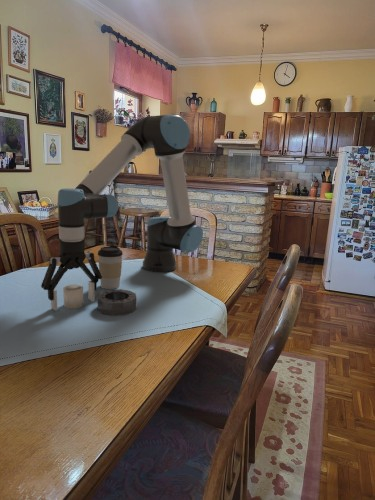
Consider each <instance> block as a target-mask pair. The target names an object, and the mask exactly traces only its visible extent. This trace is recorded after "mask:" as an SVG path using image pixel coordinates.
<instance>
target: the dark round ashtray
mask: <svg viewBox="0 0 375 500" xmlns="http://www.w3.org/2000/svg"><path fill="white" fill-rule="evenodd" d="M135 310H137V293H136V292H133V291H131V290H129V289H122V288H121V289H120V288H119V289H118V288H115V289H107V290H103V291H102V292H100V293H98V294H97V311H98V312H100V313H101V314H102V315H109V316H125V315H128V314H132V313H133V312H134V311H135Z"/></svg>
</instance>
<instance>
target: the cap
mask: <svg viewBox="0 0 375 500" xmlns="http://www.w3.org/2000/svg"><path fill="white" fill-rule="evenodd" d="M62 289H63V307H64V308H65V309H69V310H73V309H74V310H75V309H80V308H81V307H83V306H84V286H83V285H80V284H68V285H65V286H63V288H62ZM79 307H80V308H79Z"/></svg>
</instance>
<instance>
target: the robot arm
mask: <svg viewBox="0 0 375 500" xmlns="http://www.w3.org/2000/svg"><path fill="white" fill-rule="evenodd" d="M190 138H191V132H190V127H189V124H188V123H187V121H186V120H185V119H184V118H183V117H182V116H180V115H177V114H169V113H168V114H162V115H150V116H149V115H148V116H145V117H142V118H141V119H139V120H137V121H136V122H135V123H133V124H132V125H131V126H130V127H129V128H128V129H127V130H126V131H125V132H124V133H123V134H122V135H121V136H120V141H119V142H118V143H117V145H115V146H114V147H113V148H112V150H111V151H110V152H108V153H107V155H106V156H105V157H104V158H103V159H102V160H101V161H100V162H98V164H97V165H96V166H95V167H94V168H93V169H92V170H91V171H90V172H89V173H88V174H87V175H86V176H85V177H84V178H83V180H82V181H81V182H80V183H79V184H78V185H76V187H75V188H69V187H68V188H67V187H66V188H61V189H59V190H58V193H57V204H56V205H57V213H58V214H57V215H58V216H57V217H58V237H59V239H60V240H59V241H58V244H59V245H58V246H59V247H58V248H59V256H58V257H53V256H50V257H49V258H48V259H49V260H48V261H49V262H48V267H47V270H46V272H45V274H44V277H43V279H42V282H41V285H40V286H41V289H43V290H45V291H47V298H48V300H49V301H50V305H51V306H50V308H51V309H52V310H53V311H54V312H55V311H58V292H57V291H58V290H57V289H56V287H57V286H58V284H59V283H60V281H61V279H62V278H63V276H64V275H65V273H66V272H67V271H68V270H74V269H79V268H80V269H81V270H82V271H83V272H84V274H85V275H86V276H87V277H88V279H89V280H88V281H87V282H88V286H87V287H88V288H87V289H88V290H87V291H88V294H87V295H88V300H89V301H90V302H92V303H93V302H95V297H96V296H95V292H96V291H97V287H98V286H97V283H98V282H99V281H100V279H102V276H101V273H100V271H99V266H98V264H97V262H96V259H95V253H93V252H91V251H87V252H85V249H86V248H85V247H86V244H85V243H86V241H85V237H86V235H85V233H86V232H85V220H91V219H103V218H104V219H108V218H112V217H114V216H116V214H117V213H118V209H119V203H118V199H117V198H116V196H114V195H113V194H106V193H104V194H102V193H103V192H104V190H106V188H107V187H108V186H109V185H110V184H111V183H112V182H113V181H114V180H115V178H116V177H117V176H119V174H120V173H121V172H122V171H123V170H124V169H125V168H126V167H127V166H128V165H129V163H130V162H131V161H132V160H133V159H134V158H135V157H136V156H140V155H142V153H143V152H144V151H146V150H149V149H154V150H153V151H154V156H155V157H156V158H158V159H159V160H160V167H161V172H162V179H163V184H164V190H165V196H166V202H167V208H168V213H169V216H167V215H166V216H153V217H150V218H149V219H148V220H147V227H146V229H147V231H146V234H147V235H146V242H147V243H146V253H145V256H144V259H143V261H142V268H143V269H144V270H147V271H151V272H159V273H163V272H164V273H165V272H171V271H174V270H176V269H177V261H176V258H175V253H174V250H177V251H181V252H184V253H185V252H186V253H193V252H195V251H196V250H198V248H199V247H200V245H201V244H202V242H203V238H204V231H203V228H202V227H201V226H200V225H197V222H196V217H195V216H194V215H192V213H191V207H190V199H189V193H188V185H187V180H186V171H185V165H184V164H185V163H184V159H183V157H184V156H183V155H184V154H185V152H186V147H187V146H188V144H189V142H190V141H189V140H190ZM86 259H87V262H88V263H89V265H90V269H91V270H92V272H91V270H90V269H89V268H88V267H87V265H86V263H84V261H85V260H86ZM59 263H60V265H59V266H58V268H57V265H58V264H59ZM56 268H57V271H56ZM55 271H56V272H55ZM54 273H55V274H54Z"/></svg>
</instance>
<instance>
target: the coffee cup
mask: <svg viewBox="0 0 375 500" xmlns="http://www.w3.org/2000/svg"><path fill="white" fill-rule="evenodd" d="M97 256H98V257H97V258H98V260H97V261H98V269H99V271H100V273H101V276H102V279H99V281H100V286H101V287H100V288H102V289H104V288H105V289H106V290H115V289H118V288H120V286H121V285H120V284H121V276H122V266H123V260H122V259H123V250H121V248H120V247H119V246H117V245H109V246H102V247H100V249H99V250H98V251H97ZM114 288H115V289H114Z"/></svg>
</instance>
